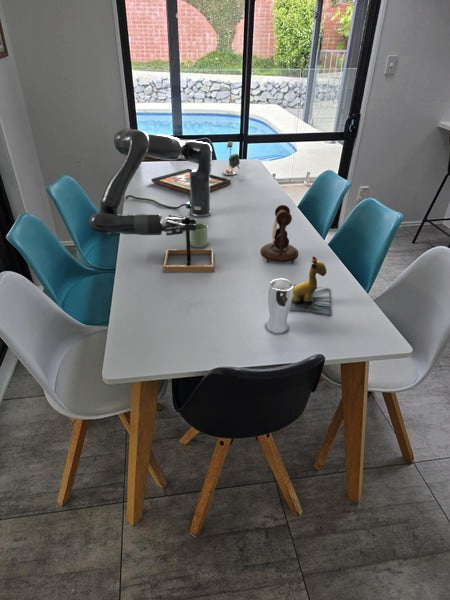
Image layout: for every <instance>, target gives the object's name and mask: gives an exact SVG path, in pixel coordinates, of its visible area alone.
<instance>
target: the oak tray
mask: <svg viewBox="0 0 450 600" xmlns="http://www.w3.org/2000/svg"><path fill="white" fill-rule="evenodd" d="M169 255H187V248H166V251H165V256H164V261H163V266H162V267H163V272H164V273H214V249H213V248H191V255H211V264H191V266H187V264H168V259H169Z"/></svg>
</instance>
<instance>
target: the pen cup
mask: <svg viewBox="0 0 450 600" xmlns="http://www.w3.org/2000/svg"><path fill="white" fill-rule="evenodd" d="M208 229H209V228H208V225H207V224H206V223H201V222H196V230H195V231H190V246H191V247H195V248H204V247H206V246H207V245H208V244H209V241H208V239H209V237H208V235H209V234H208V231H209V230H208Z"/></svg>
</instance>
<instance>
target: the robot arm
mask: <svg viewBox="0 0 450 600" xmlns="http://www.w3.org/2000/svg"><path fill="white" fill-rule="evenodd" d="M113 145H114V147H115V149H116V151H117V152H119V154H122V155H124V156H126V157H125V160H124V162H123V163H122V165H121V166H120V167H119V168H118V170H117V171H116V172H114V174H113V175H112V176H111V177H110V178H109V180H108V181H107V182H106V184H105V186H104V189H103V191H102V194H101V197H100V201H99V205H100V208H99V212H97V213H94V214H92V215H91V216H90V218H89V221H88V224H89V227H90V229H91V230H92V231H93V232H95V234H97V235H99V236H103V237H107V236H110V234H112V233H118V234H120V235H121V234H122V235H138V236H161V235H163V233H165V235H166V236H174V235H176V236H177V235H182V234H183V235H184V233H186V231H195V230H196V223H197V219H196V218H205V217H208V216H210V215H211V191H210V175H211V172H212V160H213V158H212V157H213V153H212V152H213V149H212V146H211V144H210V143H208V142H203V141H197V140H180V139H179V138H178V137H174V136H171V135H164V134H148V133H146V132H145V131H143V130H140V129H133V128H122V129H119V130H118V131H117V132H116V133H115V134H114V137H113ZM146 156H147V157H151V158H154V159H159V160H162V161H177V160H179V159H180V160H184V161H186V162H189V163H192V164H198V167H197V168H196V169H192V170H193V171H191V172H190V194H188V195H189V201H188V202H186V203H181V204H180V205H178V206H170V205H167V204H163V203H161V202H158V201H157V200H155V199H152V198H145V197H138V196H135V195H131V194H128V195H126V196H125V194H126V192H127V189H128V187H129V185H130V183H131V181H132V179H133V178H134V176H135V174H136V172H137V171H138V169H139V168H140V166H141V164H142V162H143V161H144V159H145V157H146ZM124 197H125V199H128V198H133V199H135V200H140V201H149V202H153V203H155V204H157V205H158V206H161V207H164V208H167V209H173V210H176V209H181V208H182V207H185V209H188V210H189V213H190V215H191V216H193V217H196V218H189V223H190V224H185V216H184V215H179V214H168V217H163V216H162V214H161V213H138V214H118V213H119V209H120V207H121V204H122V201H123V199H124Z"/></svg>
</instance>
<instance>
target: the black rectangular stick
mask: <svg viewBox="0 0 450 600" xmlns="http://www.w3.org/2000/svg"><path fill="white" fill-rule="evenodd" d="M184 218H185V224H190V223H189V219H190V216H189V215H185V216H184ZM185 244H186V247H185V248H186V249H187V254H186V265H187V266H191V265H192V254H191V249H192V248H191V237H190V231H185Z"/></svg>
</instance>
